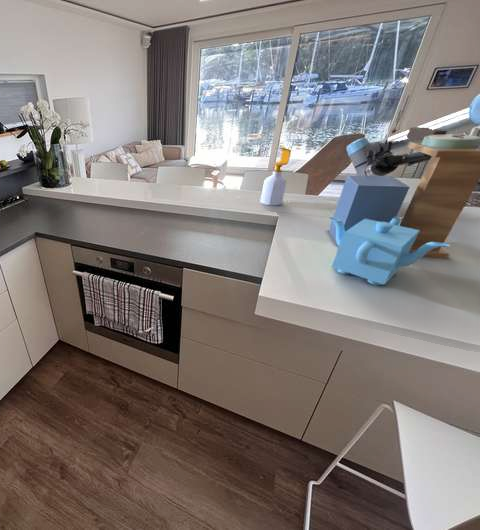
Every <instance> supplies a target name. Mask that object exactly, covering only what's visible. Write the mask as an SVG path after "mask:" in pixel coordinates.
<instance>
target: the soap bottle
mask: <svg viewBox="0 0 480 530" xmlns="http://www.w3.org/2000/svg"><path fill="white" fill-rule="evenodd" d="M276 149H279V150H281V155H280V156H281V157H280V160H279V161H278V162H272V163H271V165H273V166H274V167H275V169H273V170H272V174H271V175H270V176H267V177H266V178H265V179H264V181H263V185H262V190H261V195H260V200H259V202H260V203H261V204H262V205H265V206H272V207H273V206H276V207H277V206H280V205H282V203H283V200H284V196H285V191H286V187H287V180H286V178H285V177H284V176H282V172H283V170H282V169H281V168H282V167H283V166H285V165H288V163H289V161H290V156H291V150H290V149H288V148H285V147H281V146H276Z"/></svg>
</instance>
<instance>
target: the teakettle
mask: <svg viewBox="0 0 480 530" xmlns="http://www.w3.org/2000/svg"><path fill="white" fill-rule="evenodd" d="M328 219H329V220H330V221H331V222H332V221H333V222H334V224H335V226H336V241H337V244H338V247H337V250H336V253H335V257H334V259H333V262H332V263H331V264H332V265H331V268H333V269H336V270H337V272H338V273H340V274H343V275H354V276H356V277H360V278H363V279H365V280H367V282H368V283H369V284H371V285H374V286H382V285H385V284H387V282H389V280H391V278H392V277H393V276H395V274H396V273H397V272H398V271H399V270H400V269H401V267H402V268H403V267H408V266H411V265H414V264H415V263H417V262H418V261H419V260H421V259H422V258H423V257H425V256H424V255H425V254H426V253H427V252H429V251H430V250H432V249H434V248H438V247H442V248H444V247H451V244H449V243H445V242H444V243H440V242H429V243H426V244H424V245H422V246H421V247H420V248H419V249H417V250H416V251H415V252H412V253H409V251H410V249H411V247H412V245H413V243H414V241H415V239H416V237H417V235H418V233H419V230H416V229H411V228H407V227H402V226H399V225H400V223H401V221H402V217H401V216H396V217H394V218H393V219H392V220H391V221H390V223H387V222H379V221H374V220H369V219H364V220H362V221H360V222H359V223H357V224H356V225H354V226H353V227H351V228H350V229H349V230H347V231H346V232H345V228H344V224H343V222H342V221H341V220H339V219H336V218H333V217H328Z"/></svg>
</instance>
